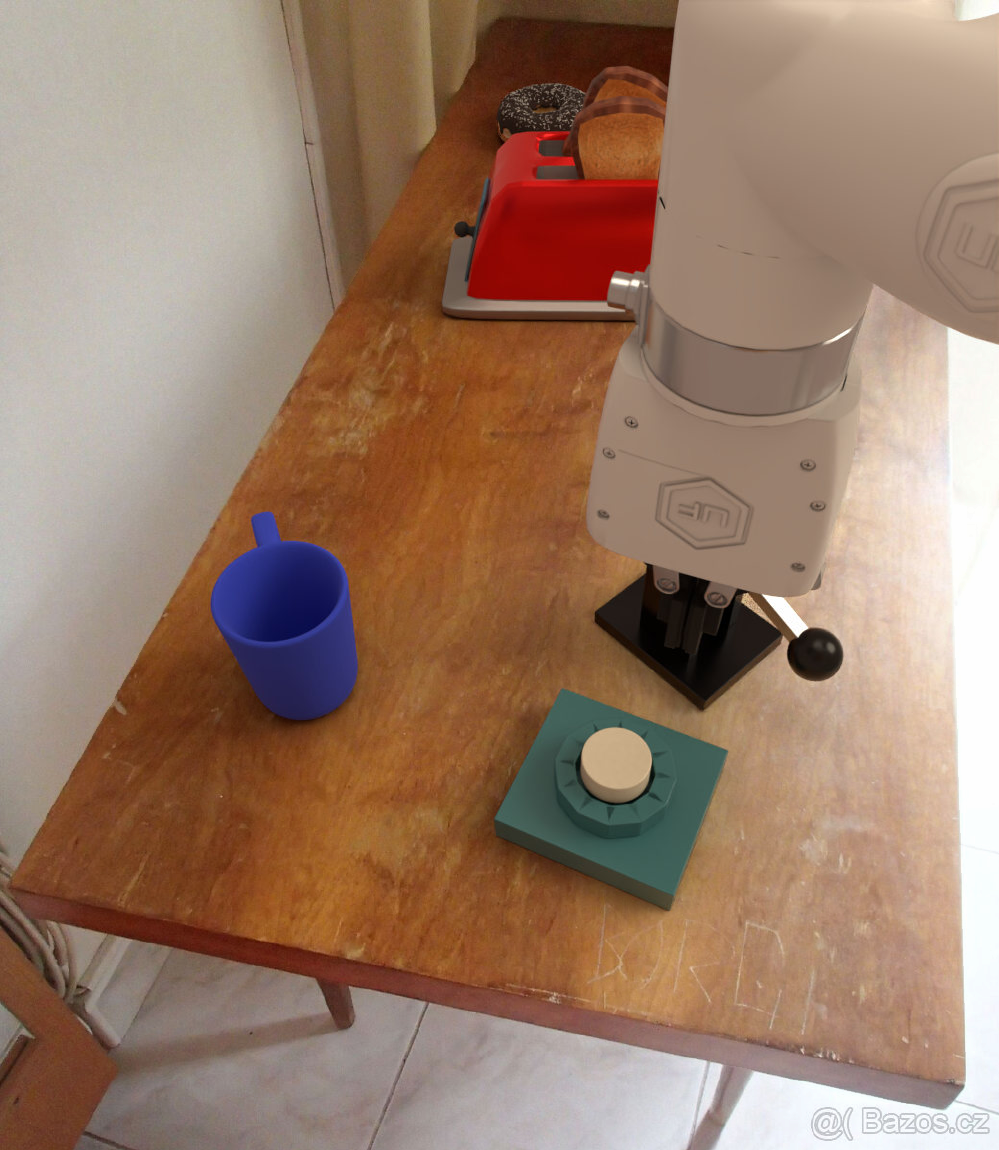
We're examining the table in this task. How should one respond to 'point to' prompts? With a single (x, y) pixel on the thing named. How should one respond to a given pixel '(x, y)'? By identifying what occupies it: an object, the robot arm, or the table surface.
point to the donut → (539, 109)
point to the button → (615, 765)
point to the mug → (289, 623)
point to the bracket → (692, 675)
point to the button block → (612, 830)
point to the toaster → (565, 210)
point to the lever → (803, 640)
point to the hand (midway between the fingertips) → (687, 628)
